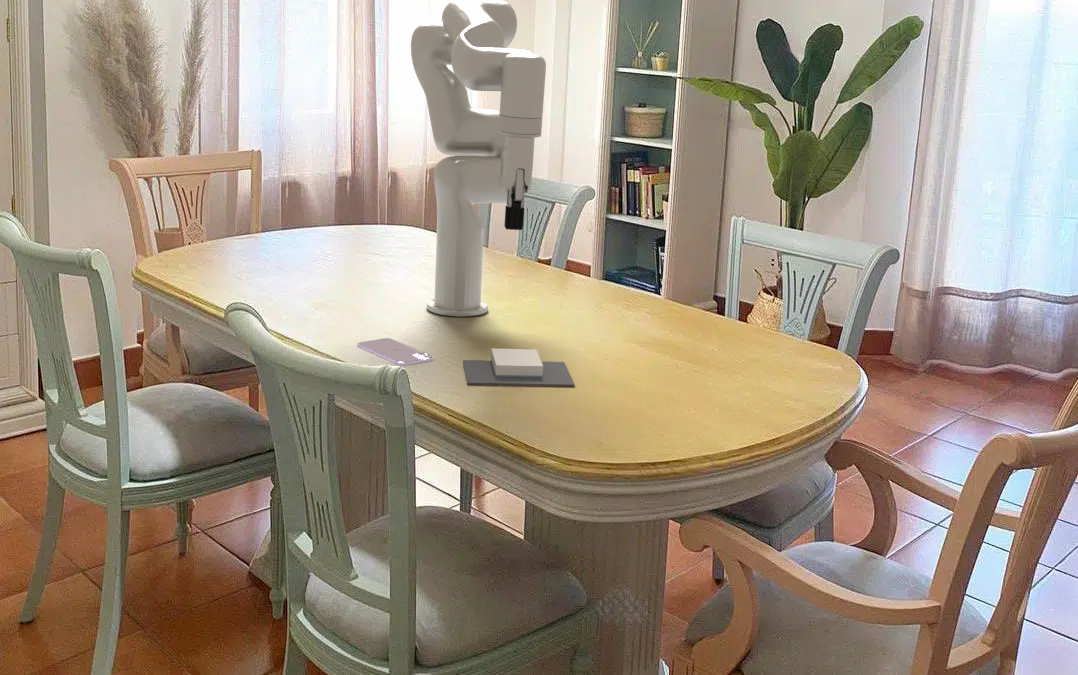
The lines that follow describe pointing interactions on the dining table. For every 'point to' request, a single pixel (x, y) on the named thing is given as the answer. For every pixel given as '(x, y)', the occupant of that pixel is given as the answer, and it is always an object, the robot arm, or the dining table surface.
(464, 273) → the robot arm
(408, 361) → the mobile phone
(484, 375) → the mat
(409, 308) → the dining table surface
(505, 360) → the tile
